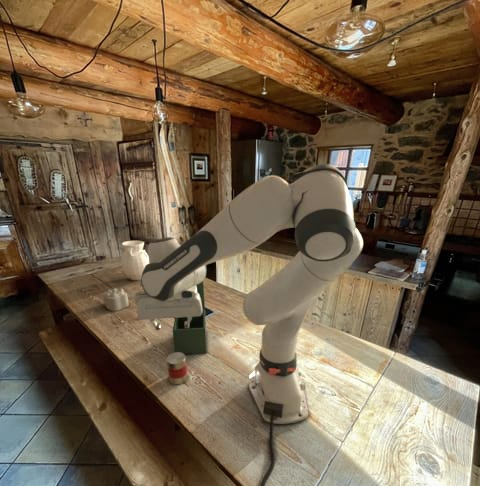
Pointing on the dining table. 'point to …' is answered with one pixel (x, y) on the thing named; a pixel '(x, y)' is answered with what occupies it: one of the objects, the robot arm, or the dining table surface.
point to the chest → (190, 335)
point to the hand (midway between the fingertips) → (172, 328)
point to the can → (177, 368)
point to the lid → (201, 293)
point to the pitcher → (134, 259)
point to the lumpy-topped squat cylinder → (116, 299)
